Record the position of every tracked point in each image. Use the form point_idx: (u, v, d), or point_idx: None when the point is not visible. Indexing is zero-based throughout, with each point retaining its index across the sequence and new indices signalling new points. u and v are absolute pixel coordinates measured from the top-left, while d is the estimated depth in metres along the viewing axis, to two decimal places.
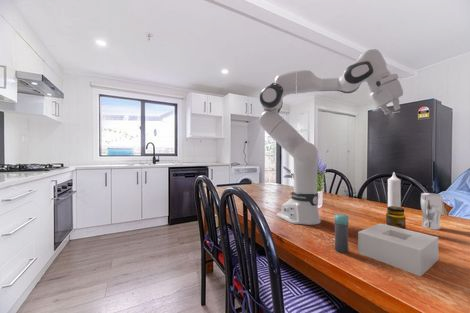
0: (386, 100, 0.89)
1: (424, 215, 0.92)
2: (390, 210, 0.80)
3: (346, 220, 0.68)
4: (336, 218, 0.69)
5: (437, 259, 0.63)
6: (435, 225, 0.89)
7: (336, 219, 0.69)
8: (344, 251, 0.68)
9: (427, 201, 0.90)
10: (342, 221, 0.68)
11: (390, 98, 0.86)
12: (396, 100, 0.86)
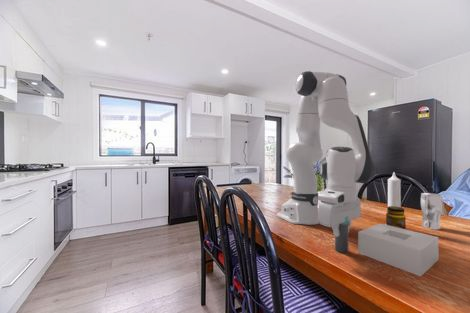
0: None
1: (424, 215, 0.92)
2: (390, 210, 0.80)
3: (346, 220, 0.68)
4: None
5: (437, 259, 0.63)
6: (435, 225, 0.89)
7: None
8: (344, 251, 0.68)
9: (427, 201, 0.90)
10: None
11: None
12: (334, 225, 0.67)
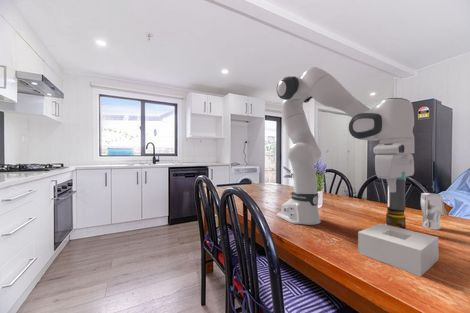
0: None
1: (424, 215, 0.92)
2: (390, 210, 0.80)
3: (404, 175, 0.64)
4: None
5: (437, 259, 0.63)
6: (435, 225, 0.89)
7: None
8: (402, 208, 0.64)
9: (427, 201, 0.90)
10: None
11: None
12: (391, 180, 0.63)
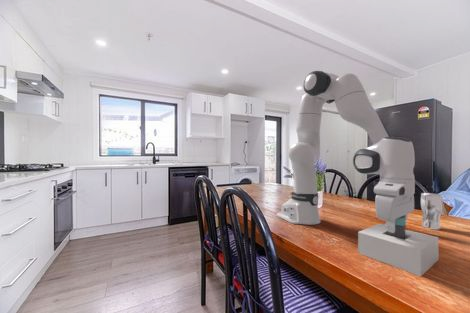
0: None
1: (424, 215, 0.92)
2: None
3: (404, 221, 0.64)
4: None
5: (437, 259, 0.63)
6: (435, 225, 0.89)
7: None
8: None
9: (427, 201, 0.90)
10: (400, 222, 0.64)
11: None
12: (390, 221, 0.63)
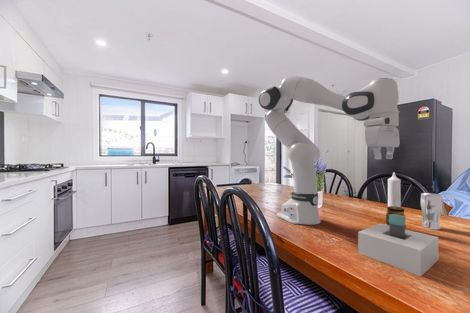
0: None
1: (424, 215, 0.92)
2: (390, 210, 0.80)
3: (404, 221, 0.64)
4: (392, 219, 0.65)
5: (437, 259, 0.63)
6: (435, 225, 0.89)
7: (392, 220, 0.65)
8: None
9: (426, 201, 0.90)
10: (400, 222, 0.64)
11: None
12: (376, 148, 0.73)
